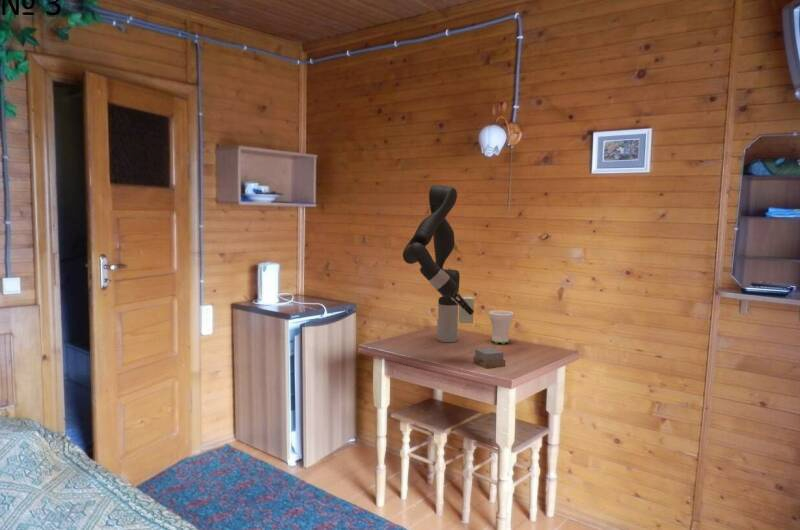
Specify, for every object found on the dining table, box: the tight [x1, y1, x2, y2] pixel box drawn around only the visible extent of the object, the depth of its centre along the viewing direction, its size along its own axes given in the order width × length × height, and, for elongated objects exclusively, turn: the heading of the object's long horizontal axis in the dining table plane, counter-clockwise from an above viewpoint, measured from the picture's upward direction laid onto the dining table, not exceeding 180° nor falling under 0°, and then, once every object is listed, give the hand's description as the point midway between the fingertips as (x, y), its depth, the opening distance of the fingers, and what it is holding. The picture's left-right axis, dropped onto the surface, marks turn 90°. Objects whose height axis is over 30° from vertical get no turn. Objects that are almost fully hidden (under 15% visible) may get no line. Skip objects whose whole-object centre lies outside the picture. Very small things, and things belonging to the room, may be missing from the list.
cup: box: [488, 309, 514, 345], centre depth 267 cm, size 11×11×14 cm
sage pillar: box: [458, 296, 475, 324], centre depth 234 cm, size 5×5×10 cm
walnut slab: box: [472, 356, 506, 370], centre depth 231 cm, size 9×9×3 cm
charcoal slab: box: [474, 347, 504, 362], centre depth 230 cm, size 8×8×3 cm
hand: (470, 311), depth 234 cm, fingers closed on sage pillar, 5 cm apart
